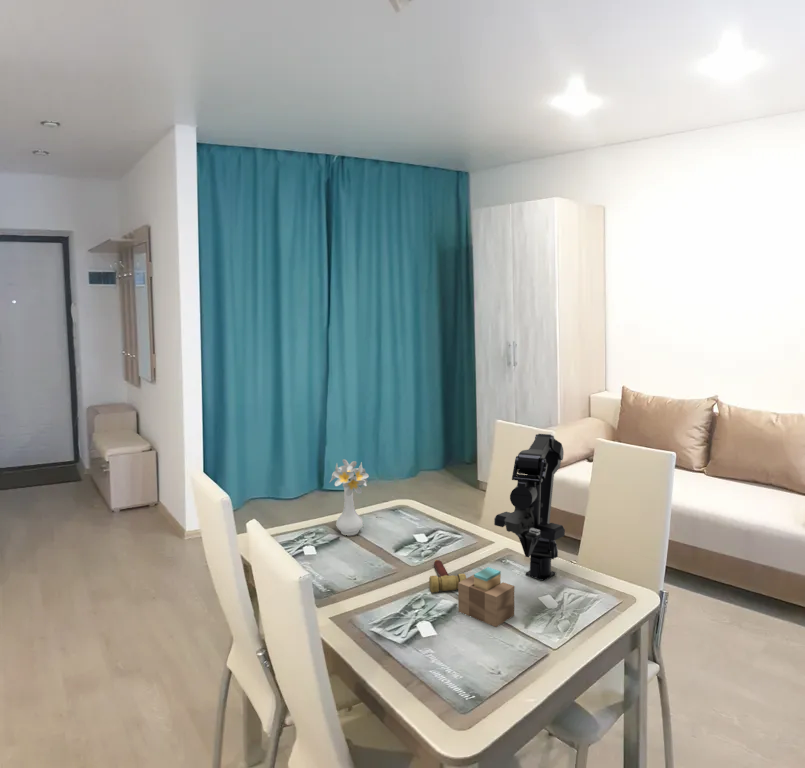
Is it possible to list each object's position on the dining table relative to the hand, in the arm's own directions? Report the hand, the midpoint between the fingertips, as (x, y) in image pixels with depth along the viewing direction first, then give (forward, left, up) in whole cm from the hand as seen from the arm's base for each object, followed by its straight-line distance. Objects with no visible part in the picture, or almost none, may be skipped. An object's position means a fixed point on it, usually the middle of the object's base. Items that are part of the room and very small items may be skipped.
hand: (527, 556), depth 178 cm
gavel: (+4, -26, -13) cm, 30 cm away
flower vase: (-2, -73, -13) cm, 74 cm away
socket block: (+13, -4, -12) cm, 19 cm away
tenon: (+13, -4, -12) cm, 18 cm away
